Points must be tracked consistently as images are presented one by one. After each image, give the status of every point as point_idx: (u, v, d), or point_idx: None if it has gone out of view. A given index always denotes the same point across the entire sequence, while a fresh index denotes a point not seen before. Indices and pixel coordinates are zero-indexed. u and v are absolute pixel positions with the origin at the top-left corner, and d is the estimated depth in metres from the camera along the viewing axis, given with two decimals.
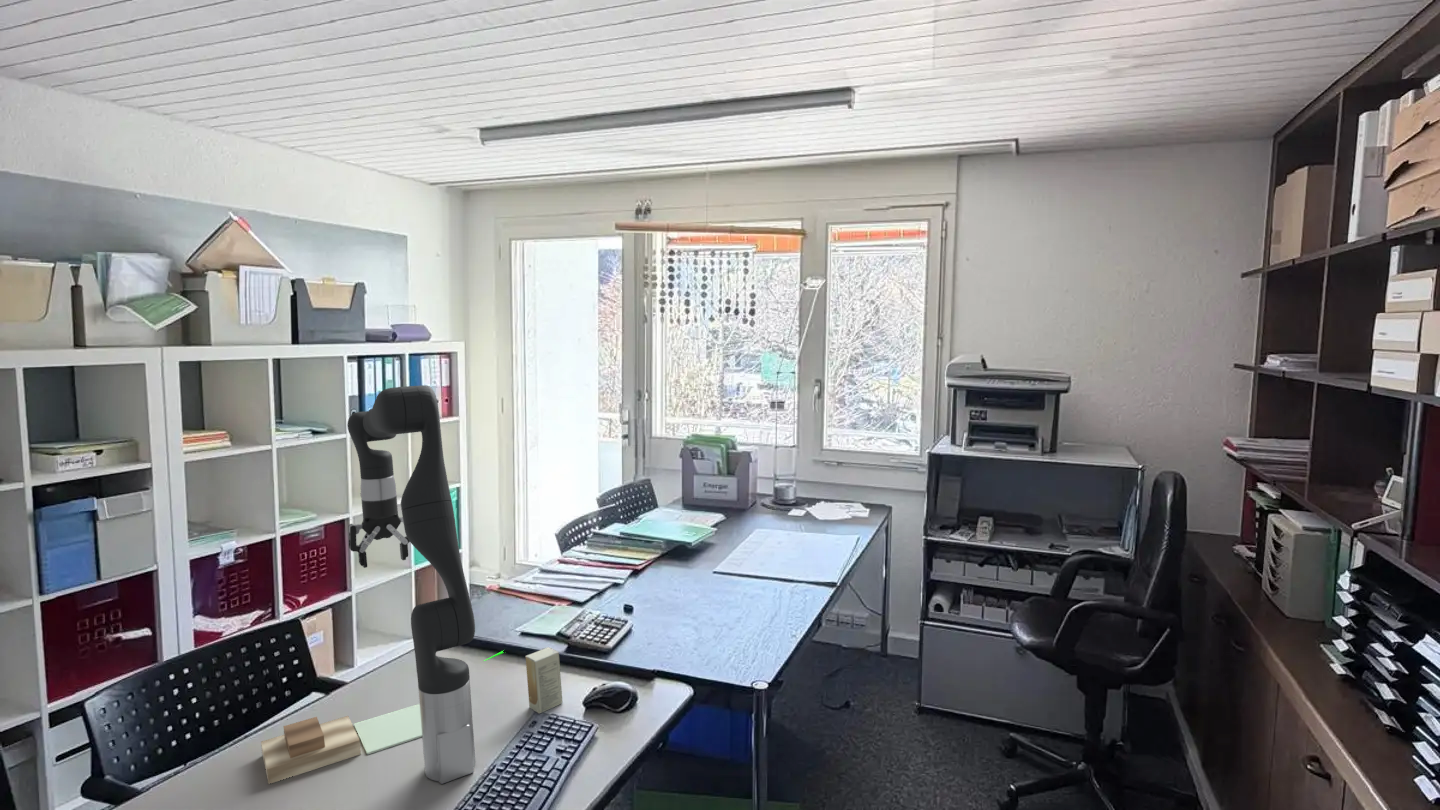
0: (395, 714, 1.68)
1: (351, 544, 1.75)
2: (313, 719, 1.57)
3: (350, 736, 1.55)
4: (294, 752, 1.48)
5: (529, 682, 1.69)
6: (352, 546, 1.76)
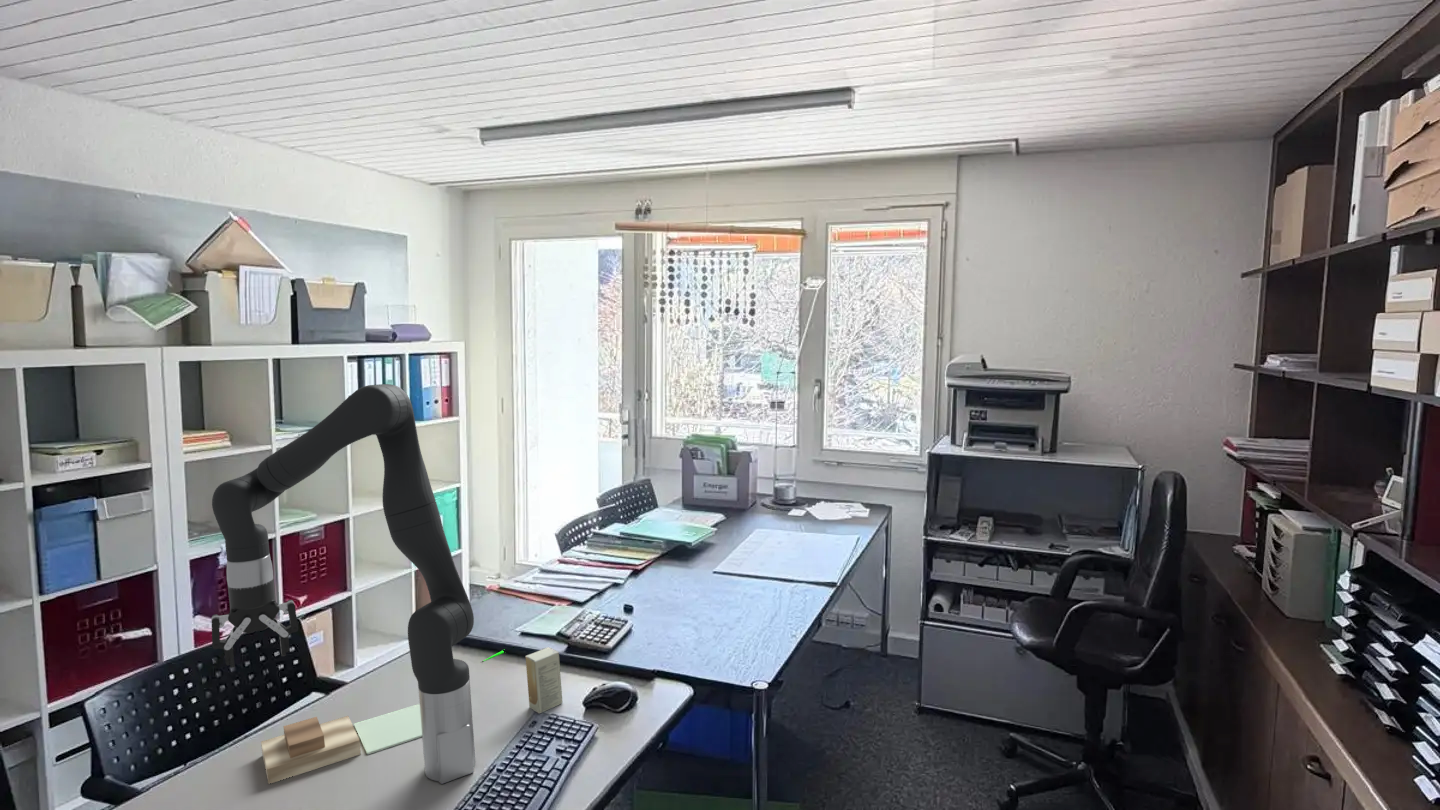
0: (395, 714, 1.68)
1: (213, 640, 1.44)
2: (313, 719, 1.57)
3: (350, 736, 1.55)
4: (294, 752, 1.48)
5: (529, 682, 1.69)
6: (214, 643, 1.44)
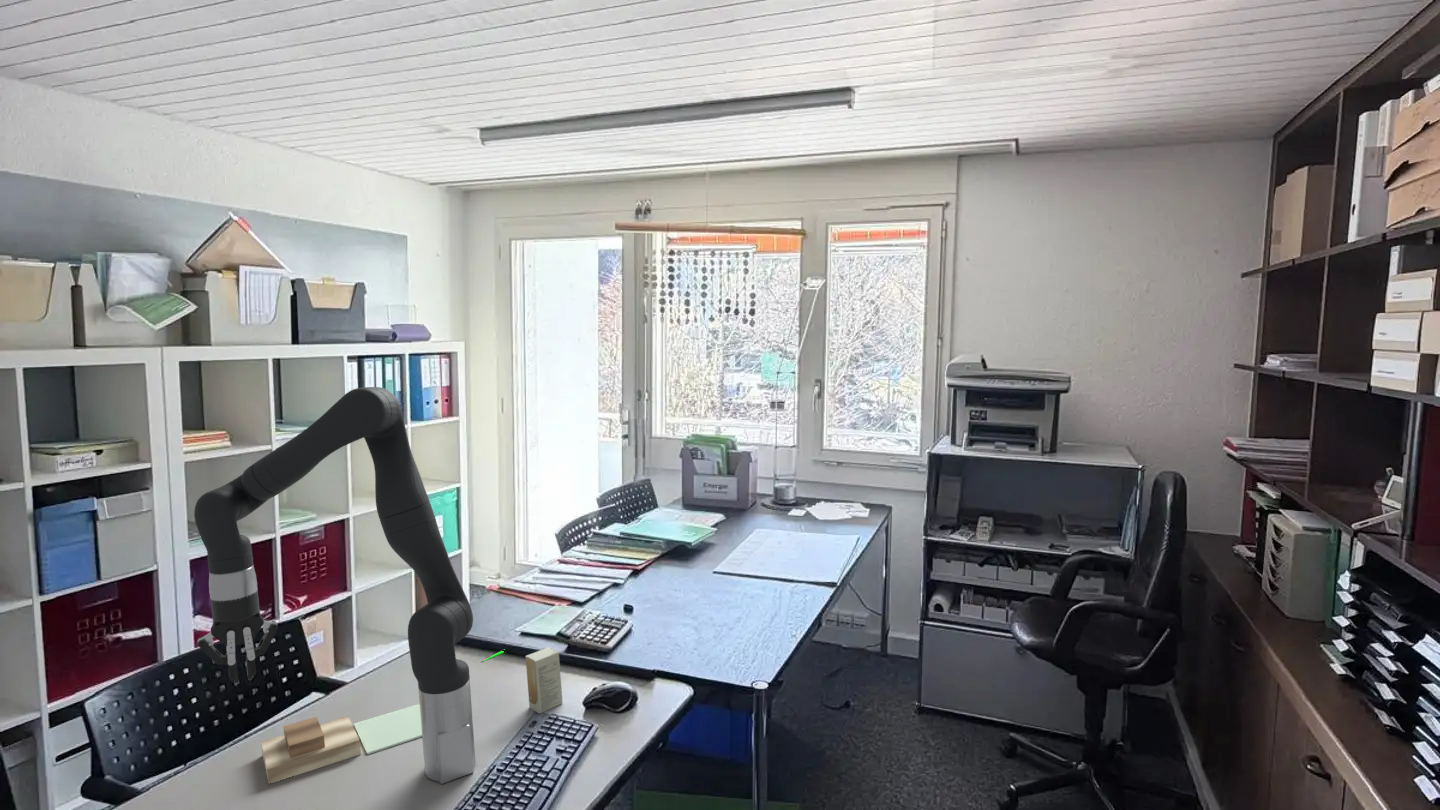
0: (395, 714, 1.68)
1: (213, 659, 1.42)
2: (313, 719, 1.57)
3: (350, 736, 1.55)
4: (294, 752, 1.48)
5: (529, 682, 1.69)
6: (218, 658, 1.42)
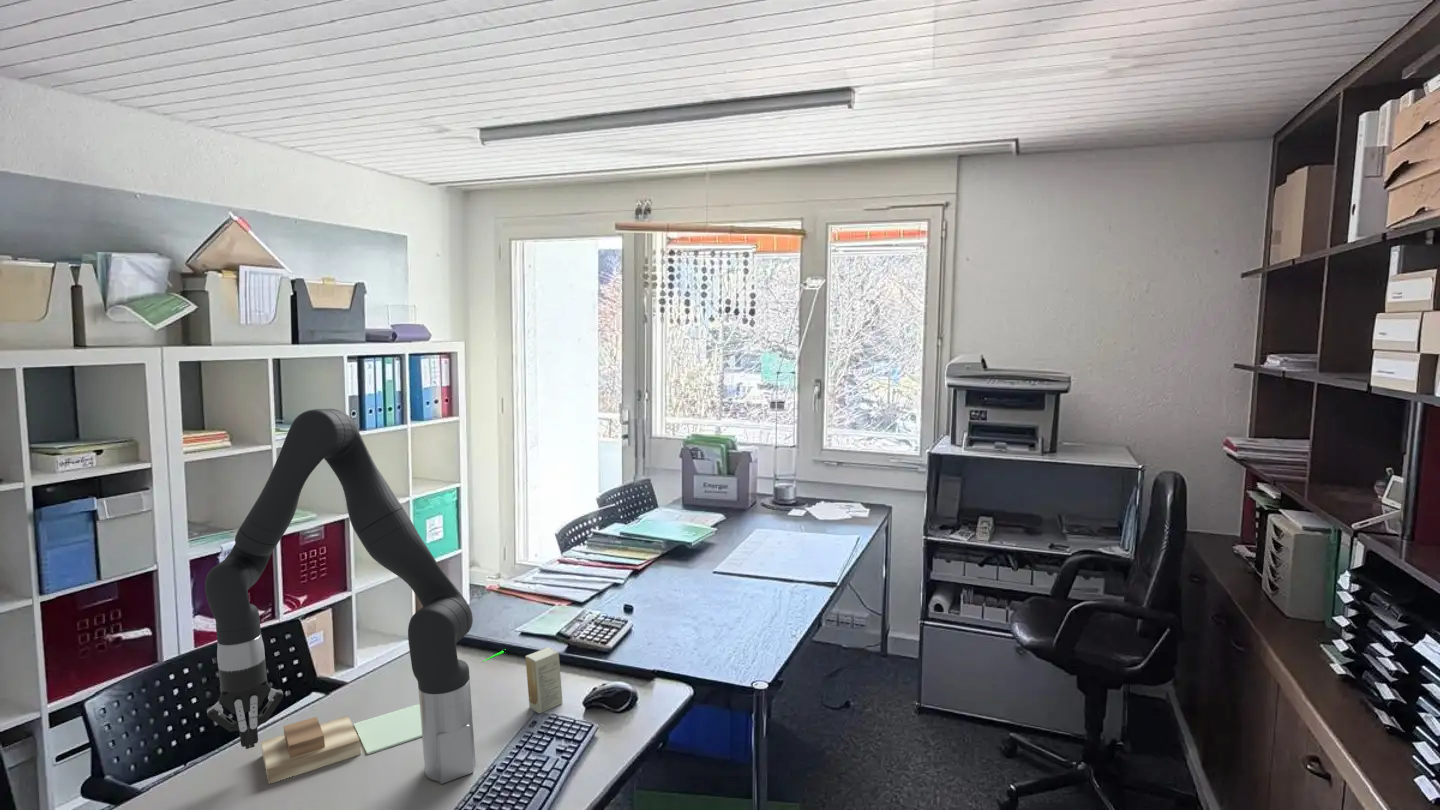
0: (395, 714, 1.68)
1: (225, 727, 1.44)
2: (313, 719, 1.57)
3: (350, 736, 1.55)
4: (294, 752, 1.48)
5: (529, 682, 1.69)
6: (230, 725, 1.44)
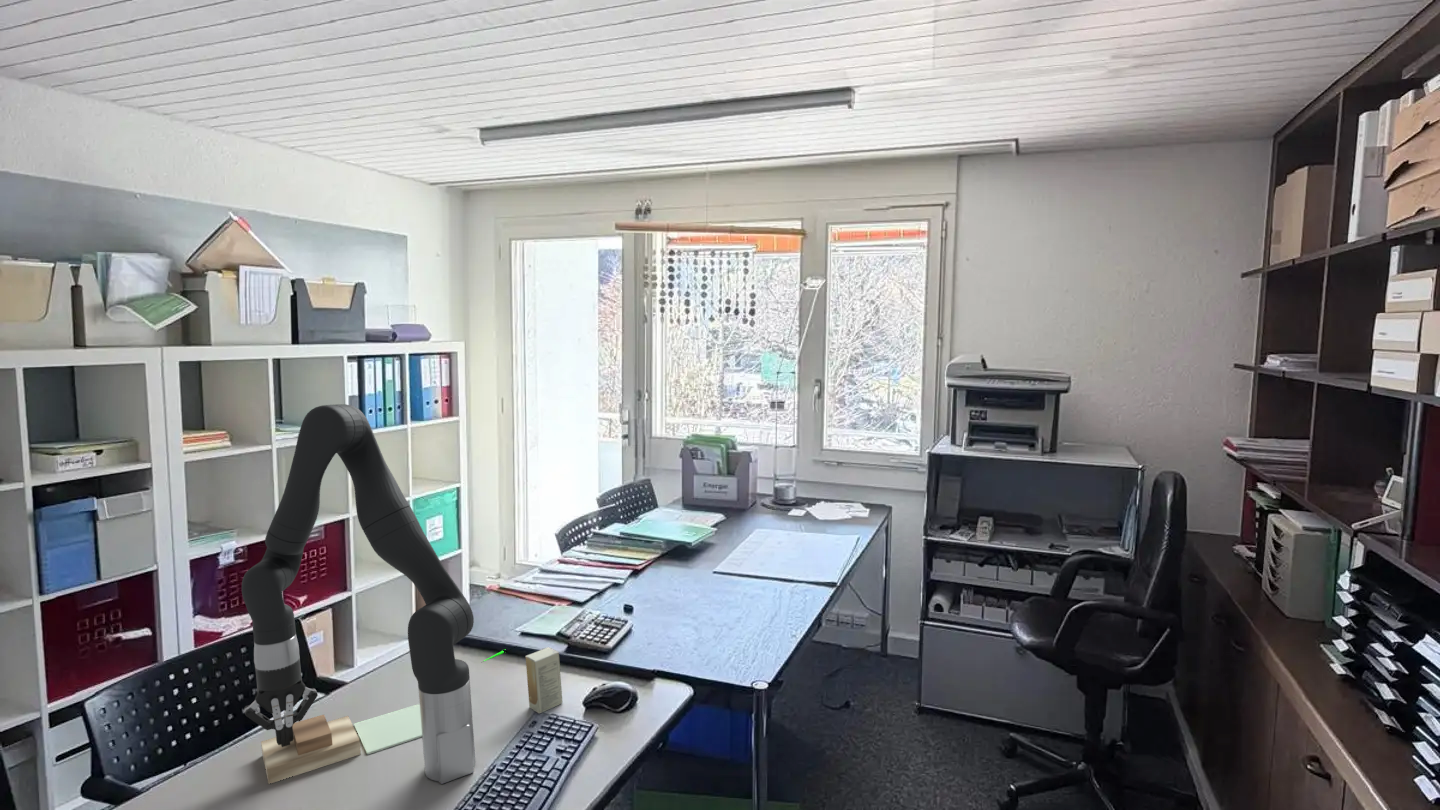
0: (395, 714, 1.68)
1: (262, 725, 1.47)
2: (320, 717, 1.58)
3: (350, 736, 1.55)
4: (302, 749, 1.49)
5: (529, 682, 1.69)
6: (267, 724, 1.48)
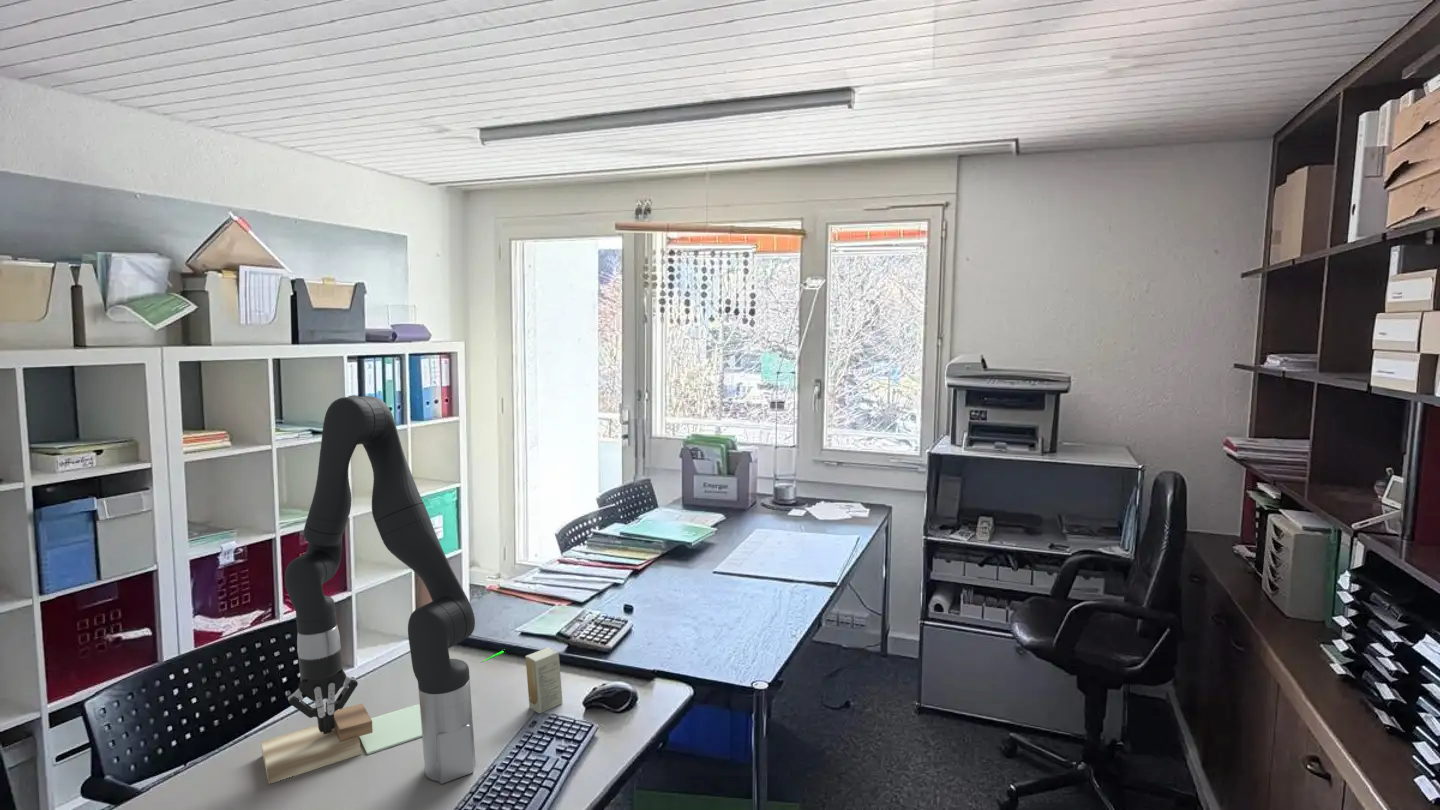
0: (395, 714, 1.68)
1: (305, 713, 1.51)
2: (359, 706, 1.62)
3: None
4: (344, 736, 1.53)
5: (529, 682, 1.69)
6: (310, 712, 1.52)
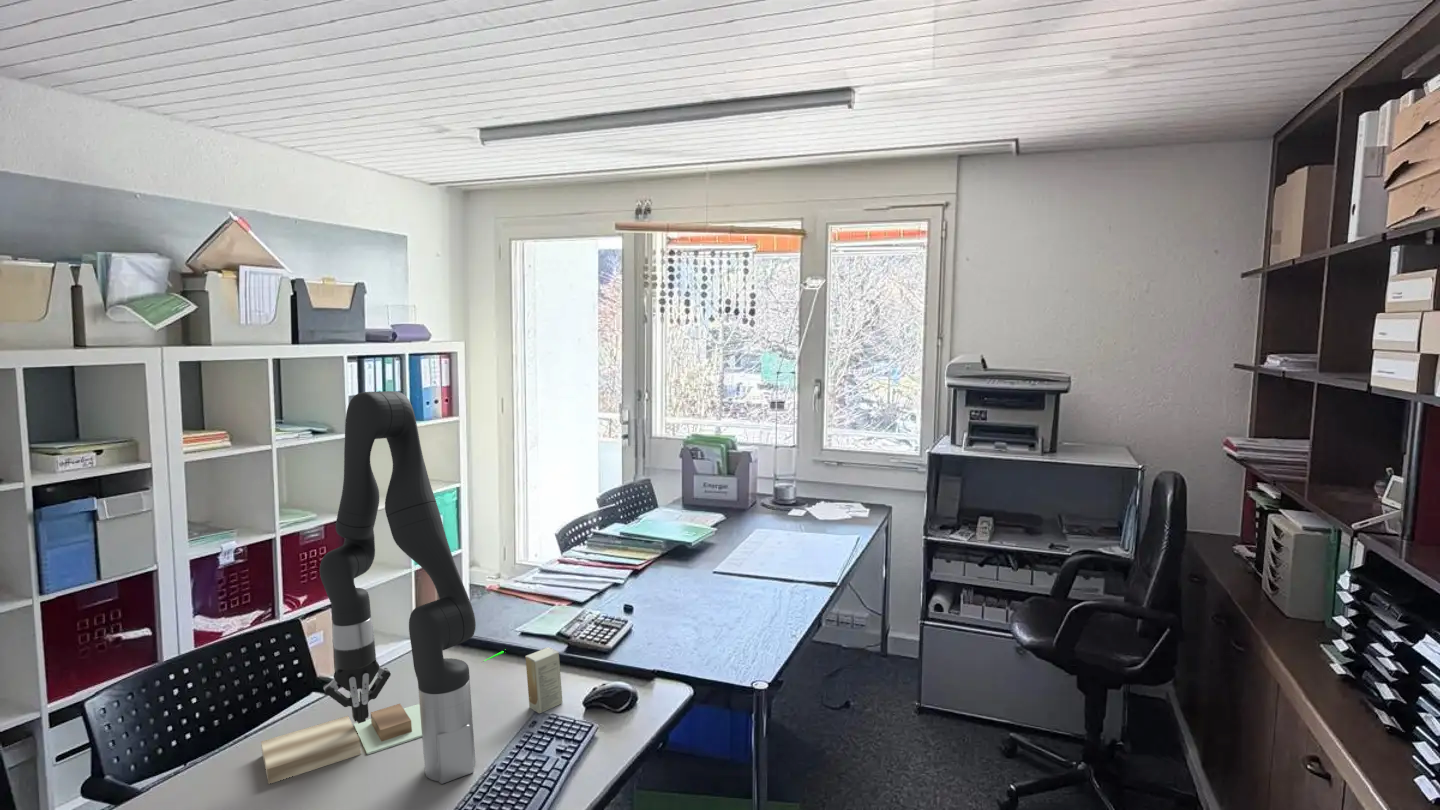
0: None
1: (340, 702, 1.55)
2: None
3: (350, 736, 1.55)
4: (407, 725, 1.60)
5: (529, 682, 1.69)
6: (345, 701, 1.56)
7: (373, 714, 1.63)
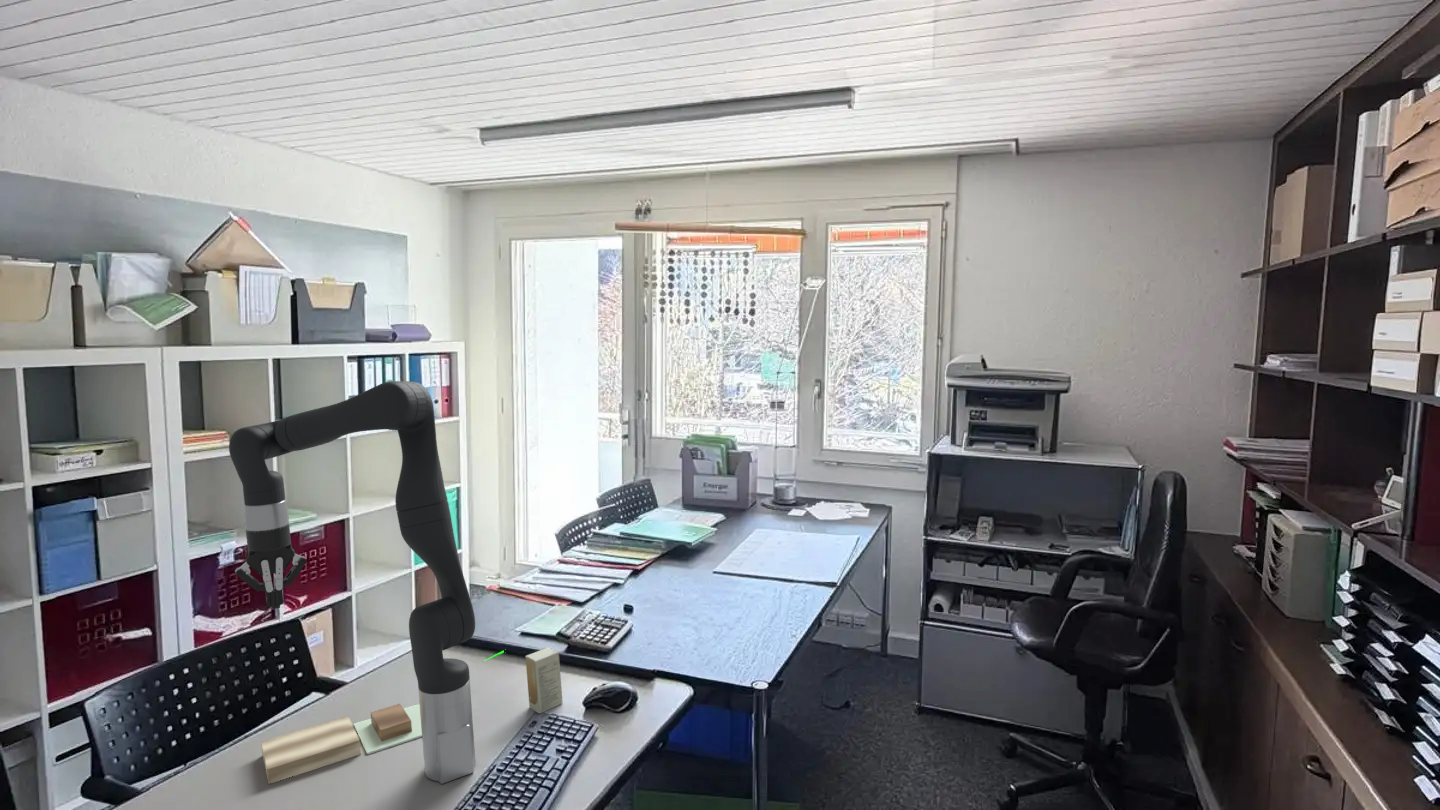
0: None
1: (252, 586, 1.52)
2: None
3: (350, 736, 1.55)
4: (407, 725, 1.60)
5: (529, 682, 1.69)
6: (257, 585, 1.52)
7: (373, 714, 1.63)
